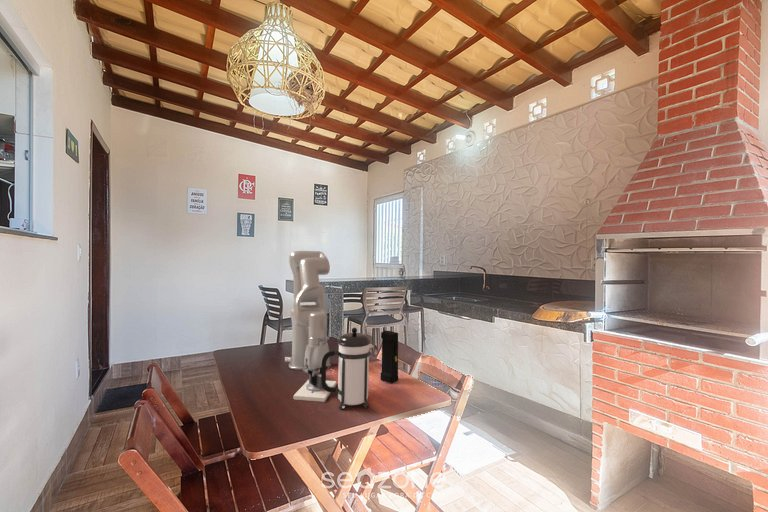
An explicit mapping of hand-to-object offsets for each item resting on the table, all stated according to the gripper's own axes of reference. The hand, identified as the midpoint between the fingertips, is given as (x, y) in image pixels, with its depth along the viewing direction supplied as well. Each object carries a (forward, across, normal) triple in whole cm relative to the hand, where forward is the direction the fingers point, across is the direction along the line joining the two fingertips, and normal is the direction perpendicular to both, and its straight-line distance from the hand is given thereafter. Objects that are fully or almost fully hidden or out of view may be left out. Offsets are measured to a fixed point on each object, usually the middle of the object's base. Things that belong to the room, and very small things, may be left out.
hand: (317, 383), depth 146 cm
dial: (+1, 0, 0) cm, 1 cm away
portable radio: (+3, -33, +9) cm, 35 cm away
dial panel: (+3, 0, 0) cm, 3 cm away
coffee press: (+3, -5, +19) cm, 20 cm away
